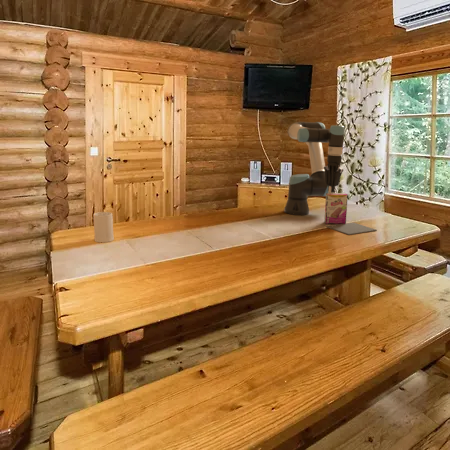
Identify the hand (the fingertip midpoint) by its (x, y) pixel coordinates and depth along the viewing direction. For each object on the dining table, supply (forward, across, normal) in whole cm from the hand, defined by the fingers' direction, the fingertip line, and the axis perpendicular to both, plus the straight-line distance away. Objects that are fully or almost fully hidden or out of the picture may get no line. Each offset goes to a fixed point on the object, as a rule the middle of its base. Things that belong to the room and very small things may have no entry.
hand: (330, 197), depth 219 cm
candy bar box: (+14, +5, 0) cm, 14 cm away
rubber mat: (+14, +17, 0) cm, 22 cm away
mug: (+14, -15, -121) cm, 123 cm away
